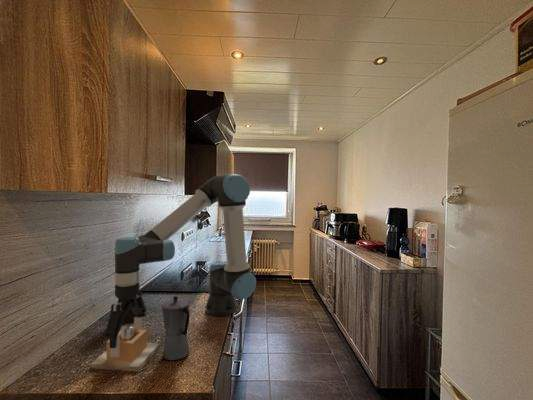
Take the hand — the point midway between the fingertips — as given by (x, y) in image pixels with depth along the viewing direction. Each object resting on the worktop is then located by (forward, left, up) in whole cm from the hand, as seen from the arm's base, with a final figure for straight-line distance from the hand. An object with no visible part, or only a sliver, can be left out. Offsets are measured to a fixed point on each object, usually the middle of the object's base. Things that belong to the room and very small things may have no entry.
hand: (127, 345), depth 96 cm
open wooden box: (0, 0, -3) cm, 3 cm away
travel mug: (-27, -16, -4) cm, 32 cm away
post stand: (0, 0, -4) cm, 4 cm away
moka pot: (-4, +16, -4) cm, 17 cm away
